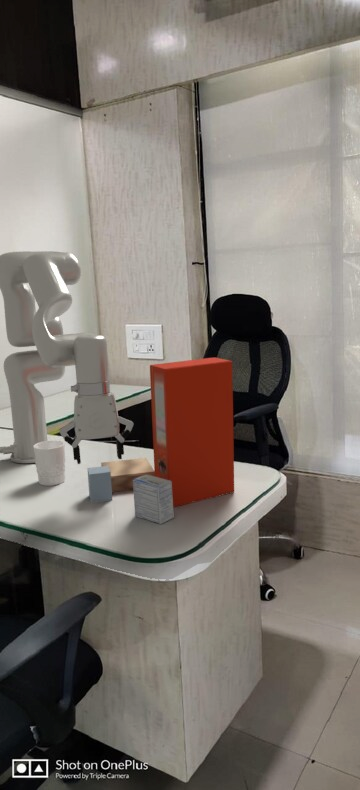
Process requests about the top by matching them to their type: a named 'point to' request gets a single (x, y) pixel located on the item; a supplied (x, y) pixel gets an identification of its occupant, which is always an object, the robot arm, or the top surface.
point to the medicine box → (153, 498)
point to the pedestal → (127, 472)
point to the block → (99, 484)
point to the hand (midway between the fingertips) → (99, 460)
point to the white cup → (50, 462)
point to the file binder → (193, 427)
